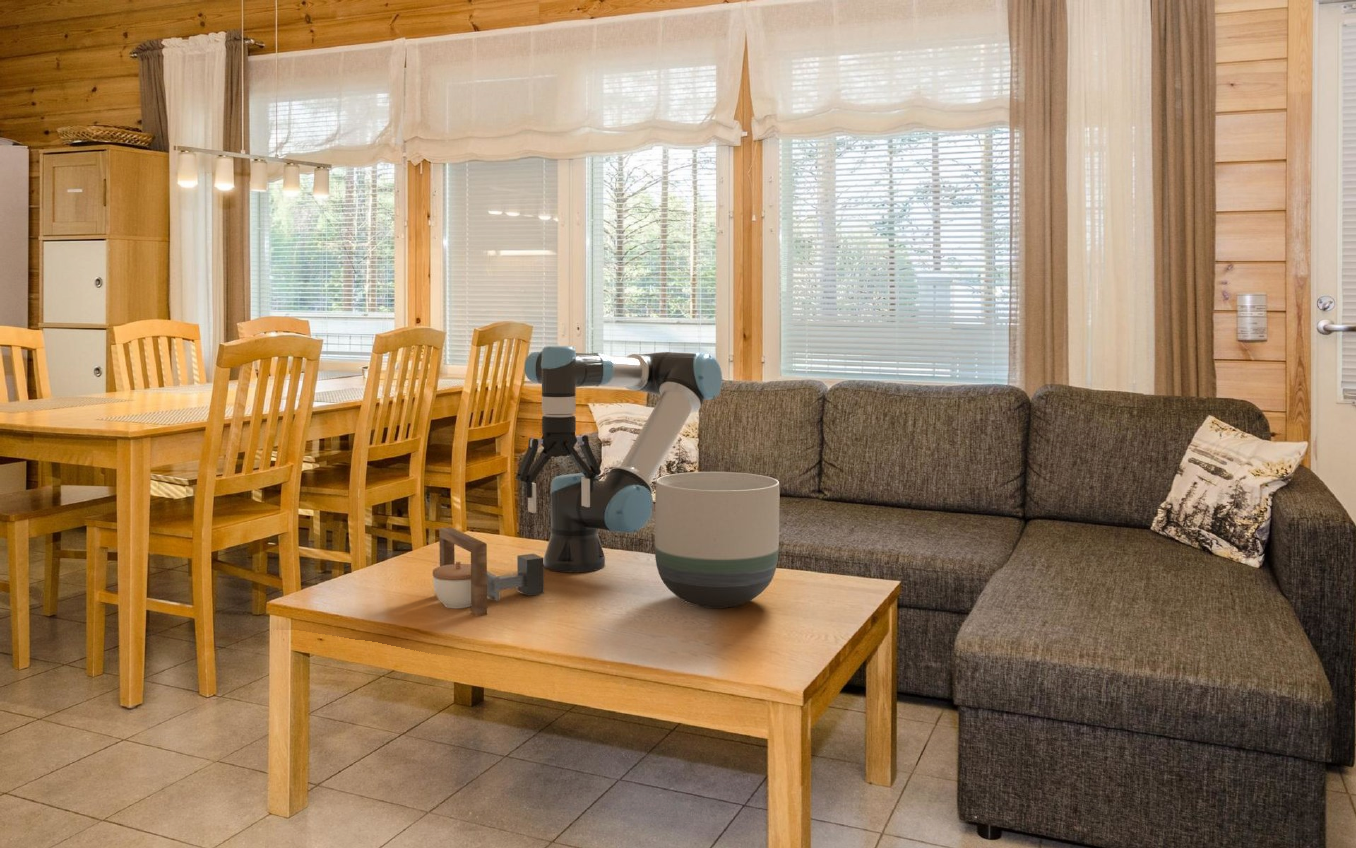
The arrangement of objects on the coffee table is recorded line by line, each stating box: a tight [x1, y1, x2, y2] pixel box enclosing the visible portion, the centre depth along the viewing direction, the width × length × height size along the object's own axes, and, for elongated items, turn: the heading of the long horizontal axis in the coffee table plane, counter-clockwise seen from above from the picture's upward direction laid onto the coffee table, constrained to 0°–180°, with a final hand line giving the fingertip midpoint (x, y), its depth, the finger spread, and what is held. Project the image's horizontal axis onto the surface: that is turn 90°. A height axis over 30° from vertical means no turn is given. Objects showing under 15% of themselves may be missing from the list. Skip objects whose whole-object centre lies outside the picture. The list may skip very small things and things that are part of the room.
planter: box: [654, 471, 781, 609], centre depth 235 cm, size 27×27×27 cm
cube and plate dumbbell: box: [487, 553, 545, 601], centre depth 240 cm, size 12×9×8 cm
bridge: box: [438, 526, 488, 617], centre depth 233 cm, size 2×20×15 cm, turn 33°
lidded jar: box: [432, 561, 471, 609], centre depth 233 cm, size 11×11×9 cm
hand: (559, 509), depth 244 cm, fingers open, 13 cm apart
